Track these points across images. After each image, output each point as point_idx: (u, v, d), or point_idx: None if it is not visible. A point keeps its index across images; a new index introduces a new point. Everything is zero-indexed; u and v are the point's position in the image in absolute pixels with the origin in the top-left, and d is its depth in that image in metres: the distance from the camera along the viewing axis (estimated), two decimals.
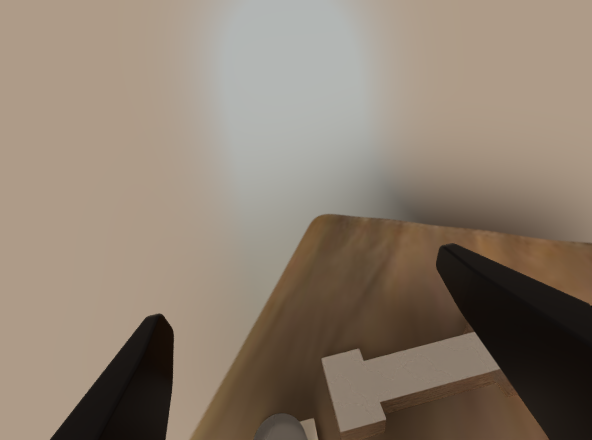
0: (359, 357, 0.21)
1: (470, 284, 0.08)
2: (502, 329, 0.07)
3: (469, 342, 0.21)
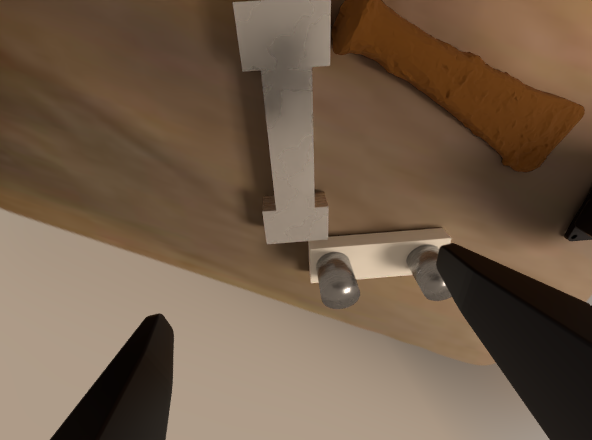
0: (271, 213, 0.20)
1: (470, 284, 0.08)
2: (502, 329, 0.07)
3: (274, 91, 0.16)
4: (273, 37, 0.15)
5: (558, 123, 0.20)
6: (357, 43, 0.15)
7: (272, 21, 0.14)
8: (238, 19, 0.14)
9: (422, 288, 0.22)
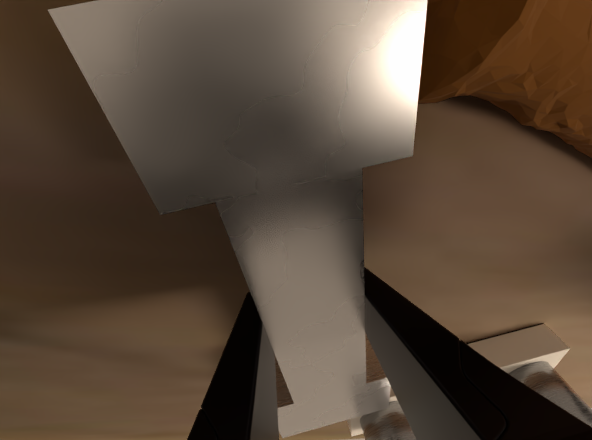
0: (286, 408, 0.11)
1: (367, 310, 0.08)
2: (390, 358, 0.07)
3: (263, 238, 0.06)
4: (239, 112, 0.04)
5: None
6: (481, 76, 0.05)
7: (225, 60, 0.04)
8: (95, 72, 0.04)
9: None
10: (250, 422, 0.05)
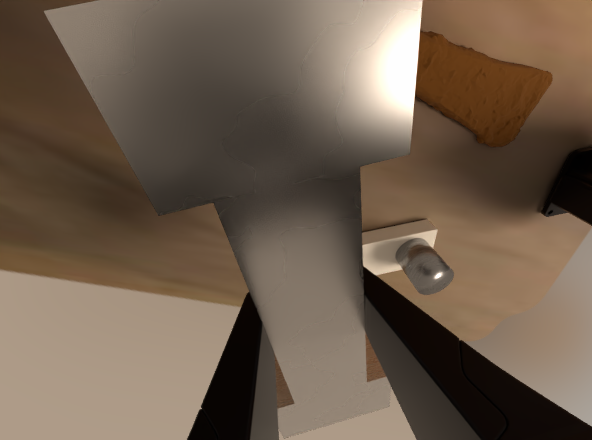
0: (287, 408, 0.11)
1: (367, 310, 0.08)
2: (391, 359, 0.07)
3: (261, 238, 0.06)
4: (236, 112, 0.04)
5: (528, 93, 0.19)
6: None
7: (222, 60, 0.04)
8: (92, 72, 0.04)
9: (415, 284, 0.22)
10: (250, 422, 0.05)
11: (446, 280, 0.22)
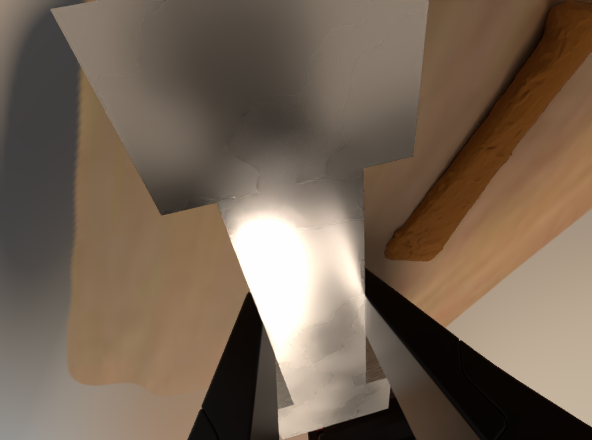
0: (286, 409, 0.11)
1: (367, 310, 0.08)
2: (390, 358, 0.07)
3: (264, 238, 0.06)
4: (240, 112, 0.04)
5: (428, 249, 0.25)
6: (586, 26, 0.14)
7: (228, 60, 0.04)
8: (98, 71, 0.04)
9: None
10: (250, 422, 0.05)
11: None
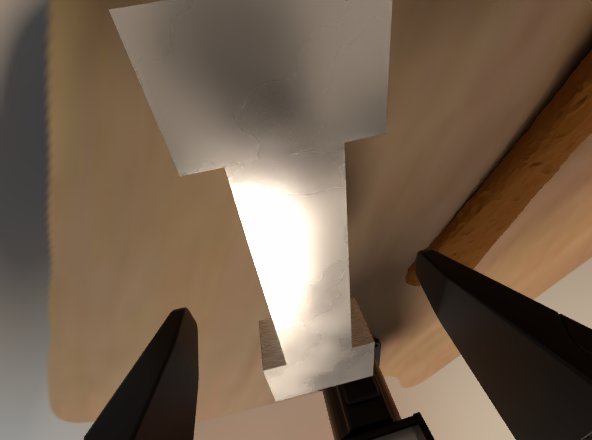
0: (279, 369, 0.12)
1: (445, 290, 0.08)
2: (475, 336, 0.07)
3: (262, 201, 0.07)
4: (246, 92, 0.06)
5: None
6: None
7: (237, 51, 0.05)
8: (139, 57, 0.05)
9: None
10: None
11: None
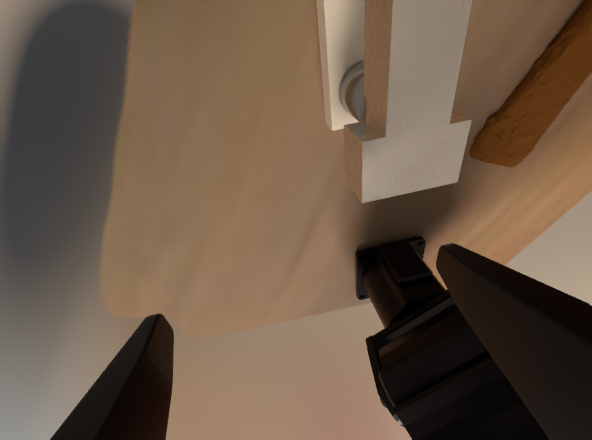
0: (377, 143, 0.12)
1: (470, 284, 0.08)
2: (502, 329, 0.07)
3: None
4: None
5: (519, 146, 0.22)
6: None
7: None
8: None
9: None
10: None
11: None
